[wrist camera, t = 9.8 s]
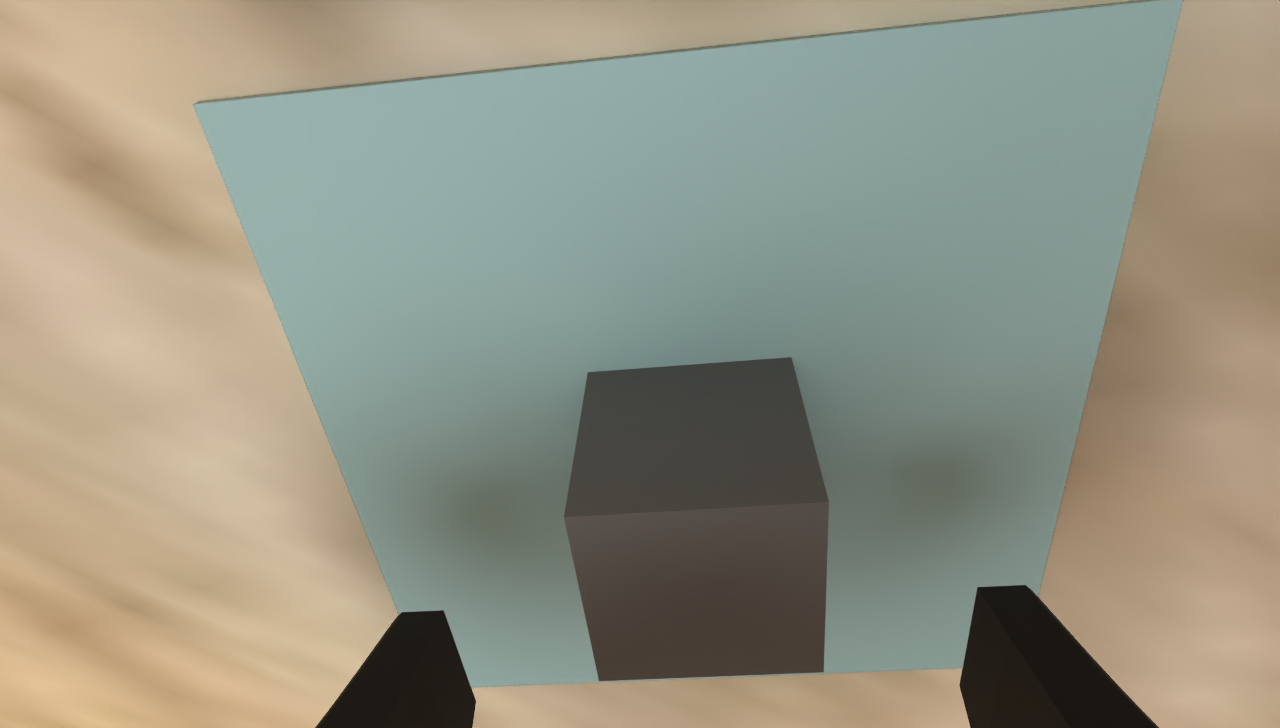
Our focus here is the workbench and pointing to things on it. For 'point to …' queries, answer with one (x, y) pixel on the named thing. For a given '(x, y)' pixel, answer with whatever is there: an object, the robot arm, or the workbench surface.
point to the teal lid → (709, 331)
